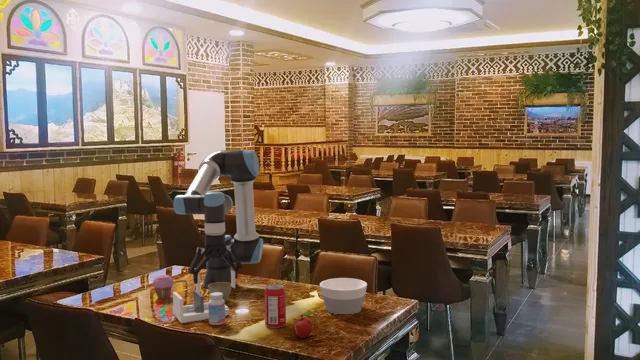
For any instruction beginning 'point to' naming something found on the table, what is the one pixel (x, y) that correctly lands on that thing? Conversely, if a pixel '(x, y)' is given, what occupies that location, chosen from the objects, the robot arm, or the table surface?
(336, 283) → the bowl
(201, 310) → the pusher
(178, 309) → the white open tray
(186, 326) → the table surface
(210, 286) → the flower pot
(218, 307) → the pill bottle
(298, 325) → the apple
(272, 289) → the soda can
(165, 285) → the cupcake
